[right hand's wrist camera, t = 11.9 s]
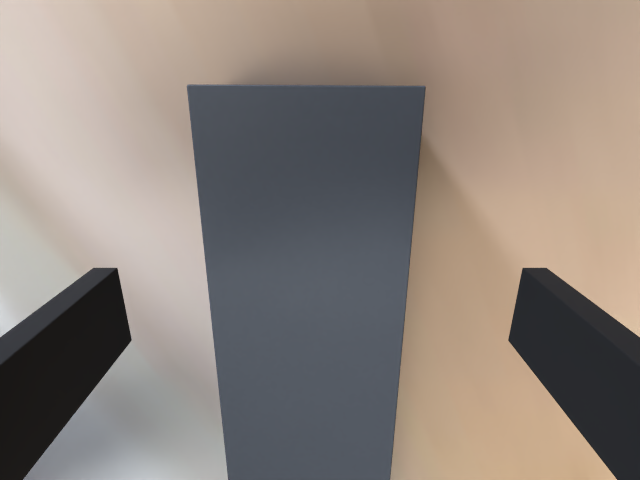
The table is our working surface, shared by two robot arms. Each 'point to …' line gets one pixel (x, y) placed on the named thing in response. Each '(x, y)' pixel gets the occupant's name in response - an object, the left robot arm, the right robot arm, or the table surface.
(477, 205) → the table surface
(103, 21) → the table surface
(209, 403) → the table surface
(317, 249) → the thick board
